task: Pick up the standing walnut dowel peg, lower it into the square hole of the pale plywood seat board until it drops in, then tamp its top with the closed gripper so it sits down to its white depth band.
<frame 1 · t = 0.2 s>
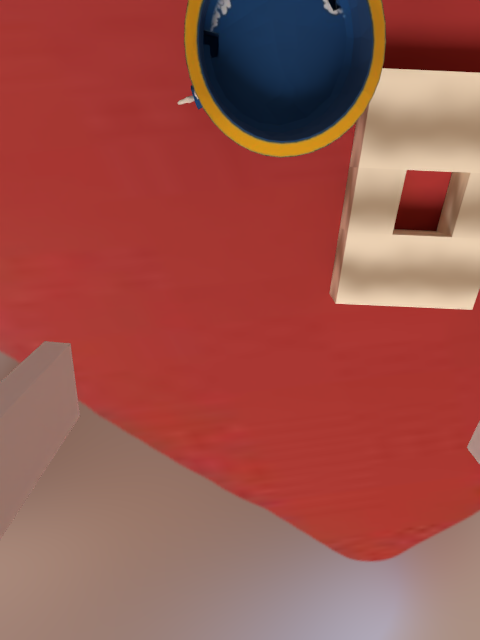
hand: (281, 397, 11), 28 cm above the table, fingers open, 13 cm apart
board: (415, 200, 35), on the table
figurine: (262, 99, 31), on the table
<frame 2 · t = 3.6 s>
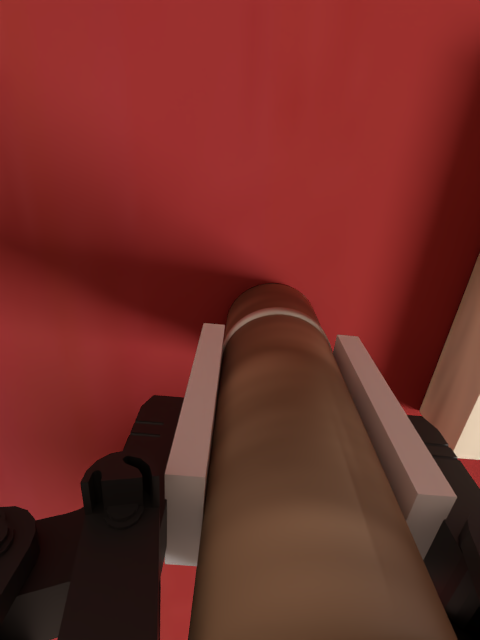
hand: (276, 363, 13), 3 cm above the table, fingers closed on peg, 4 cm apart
peg: (270, 325, 16), on the table, touching gripper
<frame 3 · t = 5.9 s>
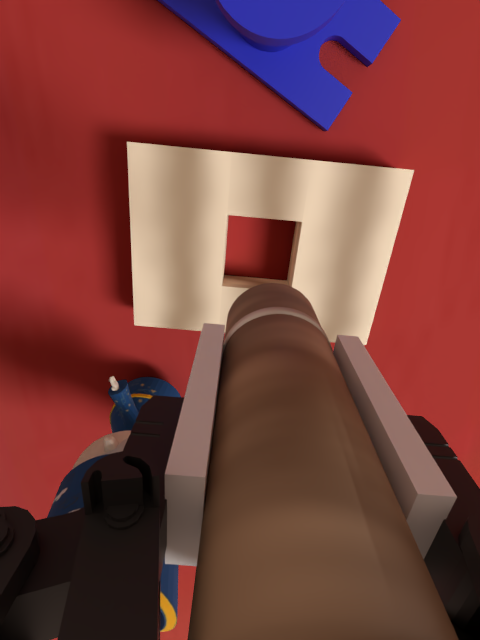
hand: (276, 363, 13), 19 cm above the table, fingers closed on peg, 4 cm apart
peg: (271, 325, 16), point 16 cm above the table, touching gripper
board: (259, 246, 30), on the table
mount: (270, 10, 24), on the table
figurine: (165, 388, 37), on the table
when the fingers open (4 cm above the table, at t = 8.2 s): peg drops 1 cm, resting in board.
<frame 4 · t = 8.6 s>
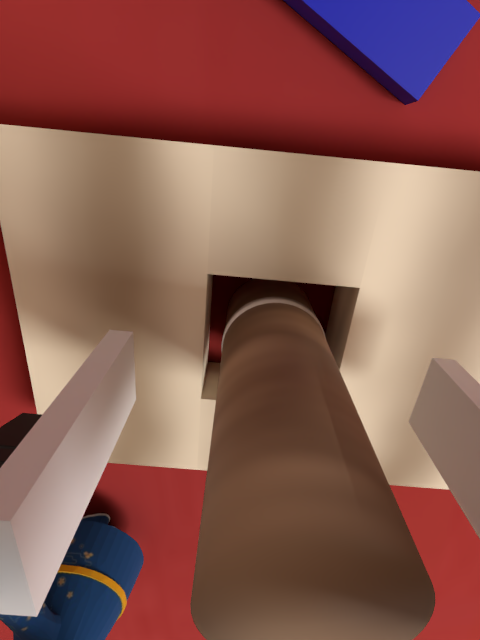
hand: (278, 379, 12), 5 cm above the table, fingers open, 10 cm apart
peg: (268, 316, 17), resting in board
board: (269, 316, 17), on the table
figurine: (120, 518, 23), on the table
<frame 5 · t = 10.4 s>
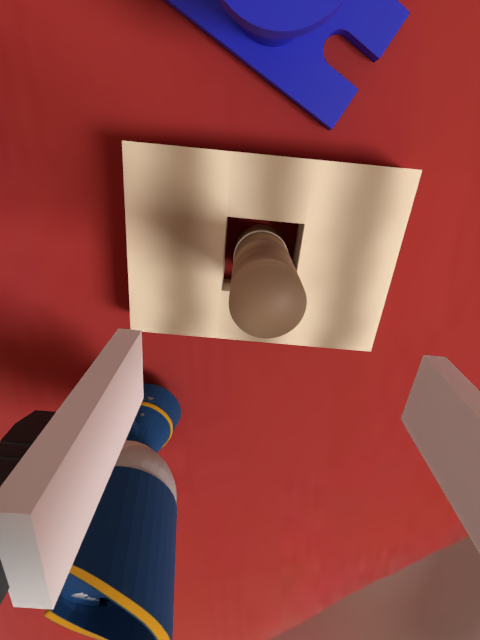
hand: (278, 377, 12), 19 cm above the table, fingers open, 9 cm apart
peg: (259, 248, 29), resting in board
board: (259, 249, 29), on the table
mount: (273, 3, 23), on the table
figurine: (163, 394, 36), on the table
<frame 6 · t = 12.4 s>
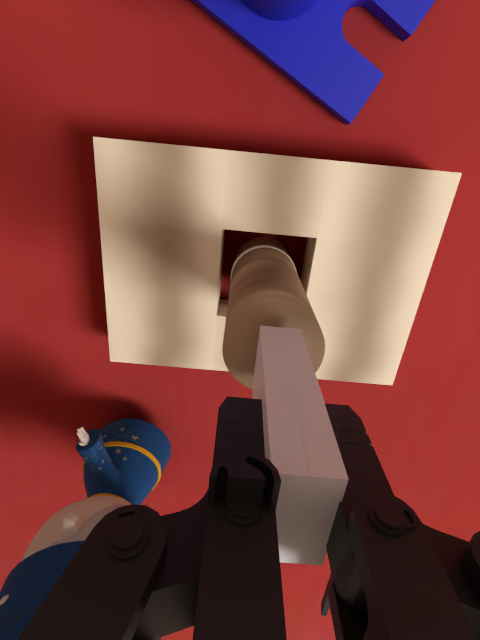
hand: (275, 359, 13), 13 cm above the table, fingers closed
peg: (261, 264, 25), resting in board
board: (262, 265, 25), on the table
figurine: (152, 427, 31), on the table
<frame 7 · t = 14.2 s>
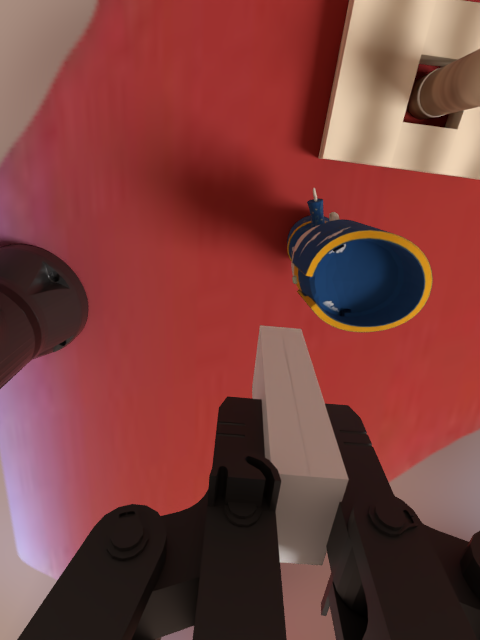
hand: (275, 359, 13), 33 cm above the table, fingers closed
peg: (426, 97, 37), resting in board
board: (426, 97, 37), on the table
figurine: (319, 236, 44), on the table
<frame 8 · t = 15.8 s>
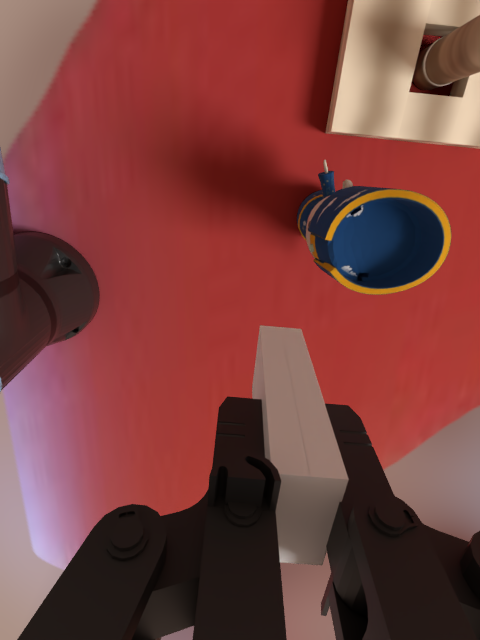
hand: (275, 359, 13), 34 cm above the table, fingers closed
peg: (430, 68, 38), resting in board
board: (430, 68, 38), on the table
figurine: (328, 212, 44), on the table
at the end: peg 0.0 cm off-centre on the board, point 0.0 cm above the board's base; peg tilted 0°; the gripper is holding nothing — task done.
